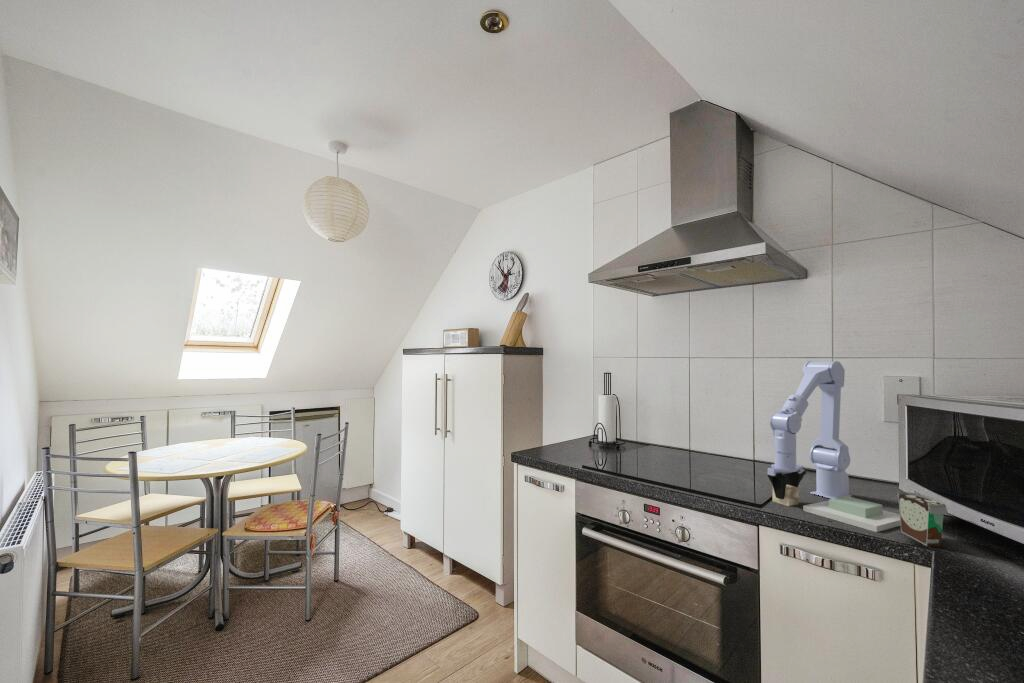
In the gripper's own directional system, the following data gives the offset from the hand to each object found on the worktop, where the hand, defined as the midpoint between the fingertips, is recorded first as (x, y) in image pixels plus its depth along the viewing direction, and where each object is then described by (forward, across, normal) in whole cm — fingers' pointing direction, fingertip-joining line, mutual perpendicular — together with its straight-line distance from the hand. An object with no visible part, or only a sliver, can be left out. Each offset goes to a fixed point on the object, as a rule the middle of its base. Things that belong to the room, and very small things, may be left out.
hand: (785, 497), depth 137 cm
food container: (+2, -3, +33) cm, 33 cm away
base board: (+2, -6, +16) cm, 17 cm away
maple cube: (+2, 0, 0) cm, 2 cm away
